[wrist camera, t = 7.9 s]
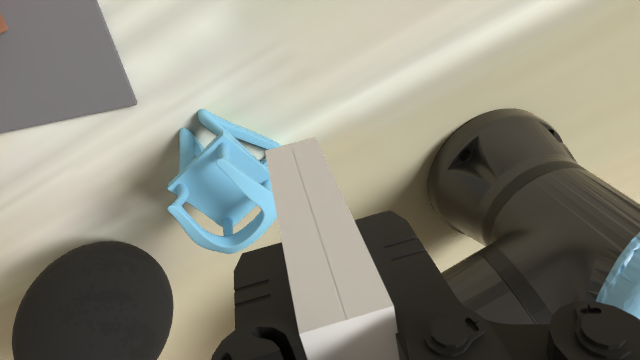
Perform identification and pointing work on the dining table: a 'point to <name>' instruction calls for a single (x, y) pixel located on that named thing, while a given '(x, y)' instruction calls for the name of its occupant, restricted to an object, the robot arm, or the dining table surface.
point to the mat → (57, 63)
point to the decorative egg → (96, 307)
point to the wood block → (2, 24)
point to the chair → (223, 185)
